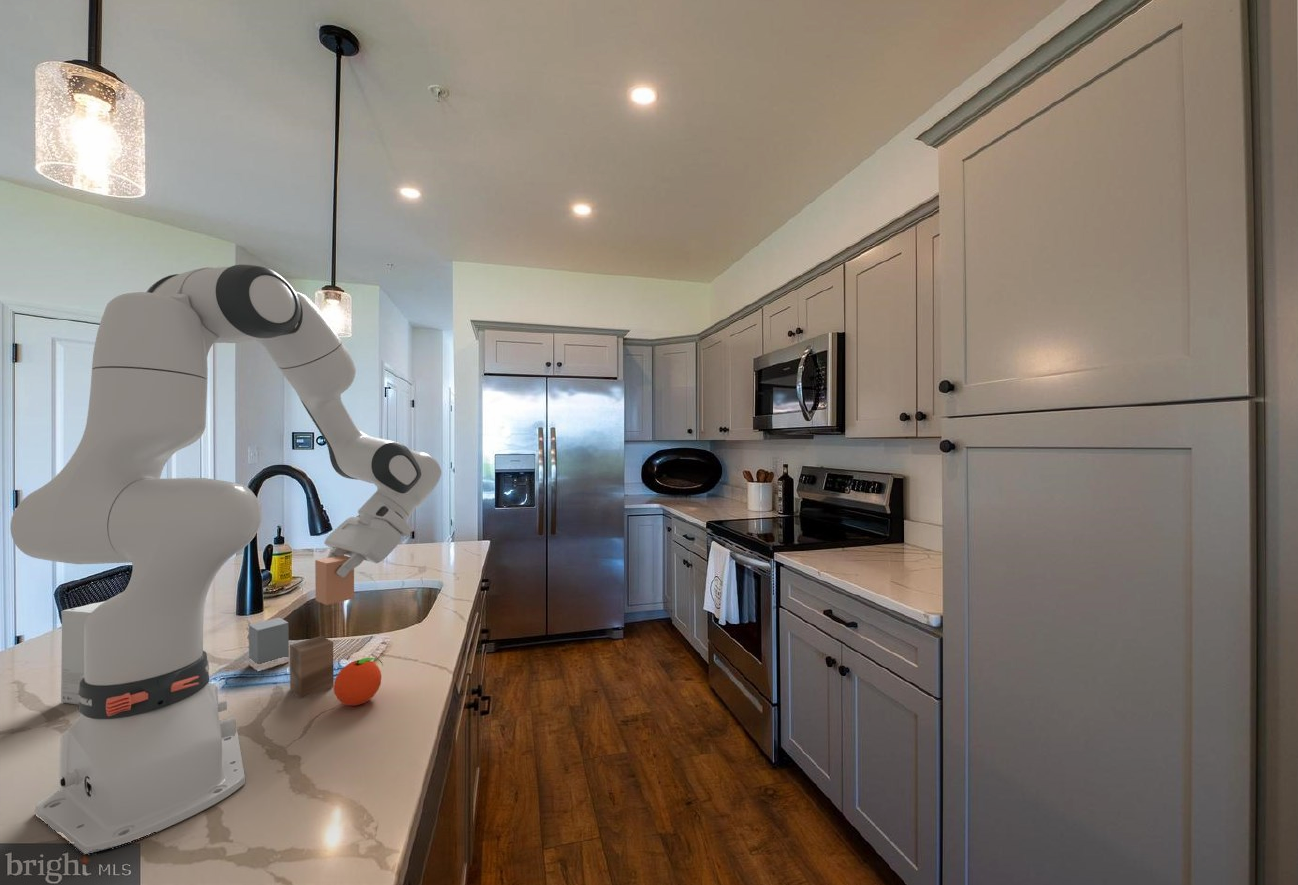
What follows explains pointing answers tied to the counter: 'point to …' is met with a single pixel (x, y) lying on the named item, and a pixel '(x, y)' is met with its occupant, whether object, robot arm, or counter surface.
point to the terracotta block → (333, 581)
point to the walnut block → (311, 666)
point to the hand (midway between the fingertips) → (331, 572)
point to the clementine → (357, 682)
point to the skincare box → (73, 650)
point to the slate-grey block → (268, 640)
